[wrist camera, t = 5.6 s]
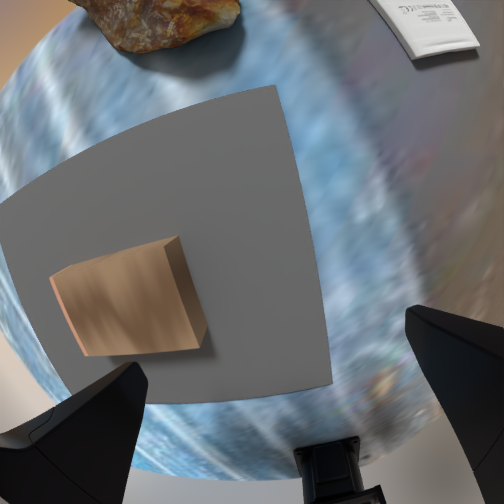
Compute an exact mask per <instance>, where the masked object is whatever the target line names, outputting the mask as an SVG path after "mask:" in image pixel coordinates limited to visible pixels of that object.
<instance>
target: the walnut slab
mask: <svg viewBox="0 0 504 504" xmlns="http://www.w3.org/2000/svg"><path fill="white" fill-rule="evenodd" d="M49 279H50V282H51V285H52V287H53V290H54V292H55V295H56V297H57V299H58V302H59V304H60V306H61V309H62V311H63V313H64V315H65V318H66V320H67V322H68V324H69V326H70V328H71V330H72V332H73V334H74V336H75V338H76V340H77V342H78V344H79V346H80V348H81V350H82V352H83V353H84V355H85V356H110V355H130V354H144V353H157V352H168V351H177V350H187V349H195V348H200V346H201V343H202V340H203V338H204V335H205V332H206V329H207V327H208V325H207V322H206V319H205V316H204V313H203V311H202V308H201V305H200V302H199V299H198V296H197V293H196V290H195V287H194V284H193V281H192V278H191V275H190V271H189V268H188V265H187V262H186V259H185V255H184V252H183V249H182V246H181V242H180V239H179V235H178V236H174V237H170V238H166V239H163V240H159V241H155V242H151V243H148V244H144V245H140V246H136V247H133V248H129V249H126V250H122V251H118V252H115V253H111V254H108V255H104V256H101V257H97V258H94V259H90V260H87V261H84V262H80V263H77V264H74V265H70V266H68V267H67V268H65V269H63V270H61V271H60V272H58V273H56V274H54V275H53V276H51V277H49Z"/></svg>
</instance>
